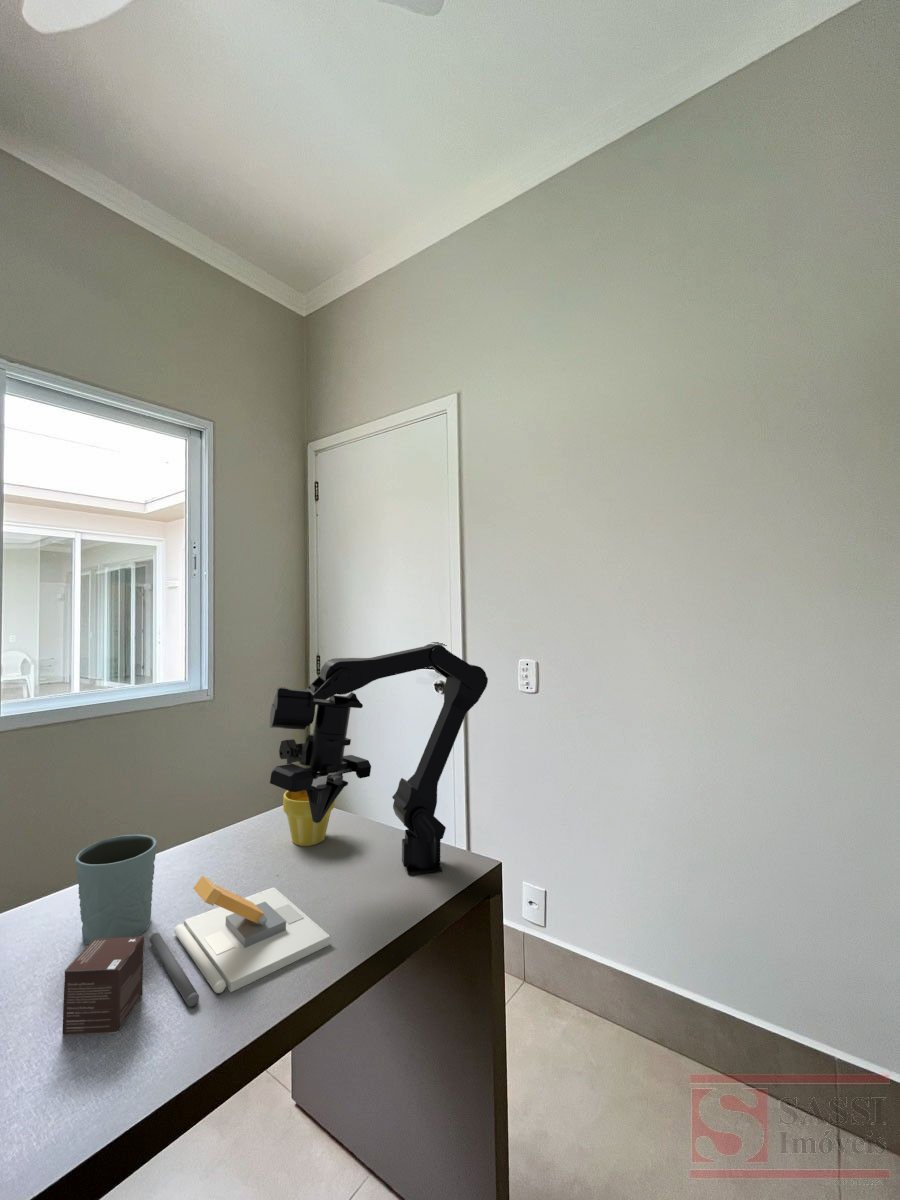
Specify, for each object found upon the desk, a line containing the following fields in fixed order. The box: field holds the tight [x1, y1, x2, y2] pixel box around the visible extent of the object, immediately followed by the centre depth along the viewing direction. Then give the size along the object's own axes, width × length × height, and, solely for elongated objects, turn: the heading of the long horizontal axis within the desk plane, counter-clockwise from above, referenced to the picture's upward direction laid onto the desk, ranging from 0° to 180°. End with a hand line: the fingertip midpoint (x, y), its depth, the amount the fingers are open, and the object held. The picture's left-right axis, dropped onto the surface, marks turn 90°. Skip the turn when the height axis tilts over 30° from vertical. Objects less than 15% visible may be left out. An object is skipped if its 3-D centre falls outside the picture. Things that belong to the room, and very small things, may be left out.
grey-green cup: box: [75, 833, 158, 946], centre depth 78 cm, size 10×10×12 cm
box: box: [61, 936, 145, 1037], centre depth 62 cm, size 6×6×7 cm
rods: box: [149, 923, 227, 1007], centre depth 70 cm, size 17×5×1 cm, turn 43°
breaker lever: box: [193, 875, 267, 925], centre depth 75 cm, size 2×5×10 cm
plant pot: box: [282, 790, 336, 847], centre depth 110 cm, size 10×10×10 cm
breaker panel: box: [183, 886, 331, 993], centre depth 77 cm, size 14×18×2 cm
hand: (316, 822), depth 91 cm, fingers closed
